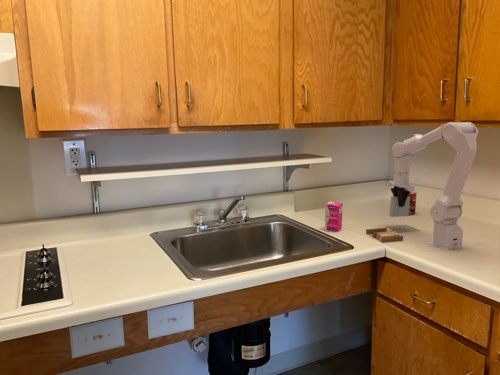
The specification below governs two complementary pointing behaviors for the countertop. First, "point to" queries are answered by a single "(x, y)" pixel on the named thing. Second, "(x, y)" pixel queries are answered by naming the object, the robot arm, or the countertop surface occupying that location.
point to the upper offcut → (387, 234)
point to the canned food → (412, 202)
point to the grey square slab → (399, 211)
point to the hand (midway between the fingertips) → (399, 206)
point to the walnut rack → (383, 239)
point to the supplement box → (333, 216)
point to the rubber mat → (402, 228)
